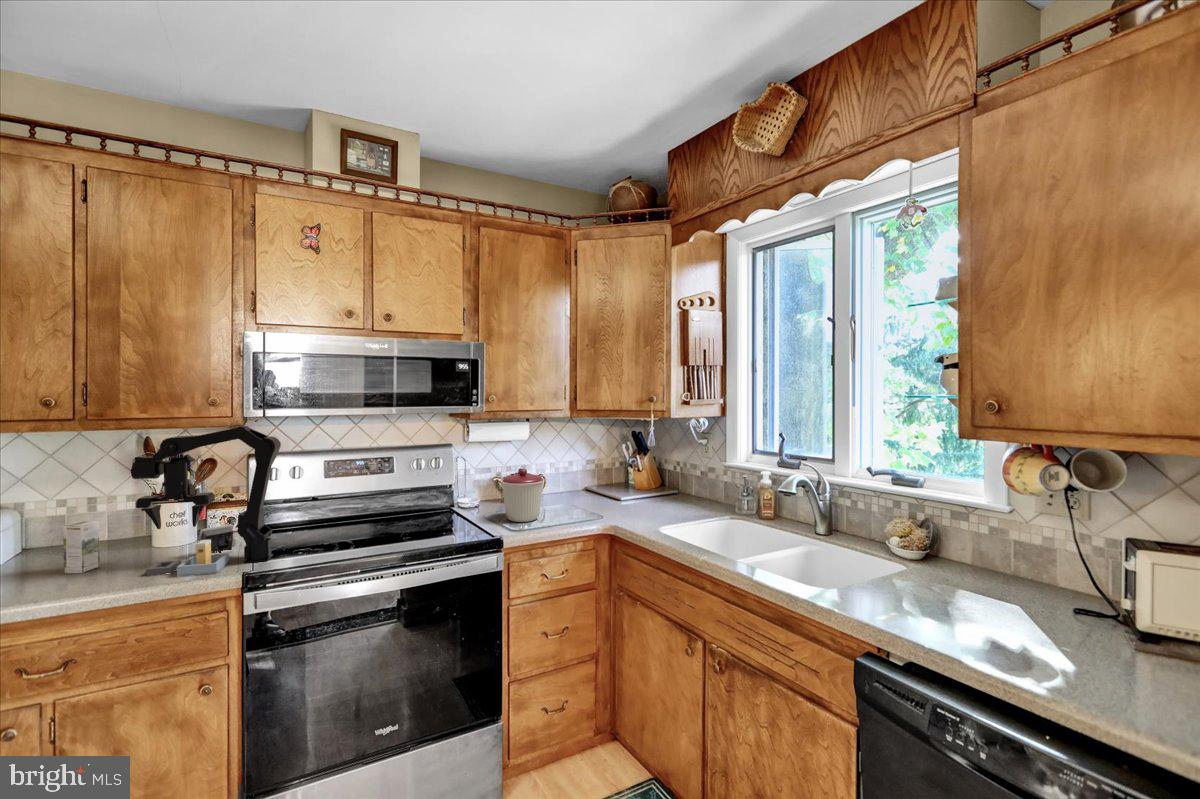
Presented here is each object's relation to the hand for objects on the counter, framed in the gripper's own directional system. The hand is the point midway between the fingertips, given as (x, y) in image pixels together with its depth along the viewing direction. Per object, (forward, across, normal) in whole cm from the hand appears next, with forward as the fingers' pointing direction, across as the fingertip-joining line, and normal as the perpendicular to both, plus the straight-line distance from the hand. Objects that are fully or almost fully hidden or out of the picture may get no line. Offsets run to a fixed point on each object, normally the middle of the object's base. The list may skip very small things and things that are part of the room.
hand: (177, 527), depth 168 cm
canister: (+12, -111, -26) cm, 115 cm away
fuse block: (+12, +2, +4) cm, 13 cm away
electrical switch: (+12, -7, -11) cm, 18 cm away
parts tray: (+12, -9, +6) cm, 16 cm away
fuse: (+11, -9, +6) cm, 16 cm away
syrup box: (+12, +26, -4) cm, 29 cm away
